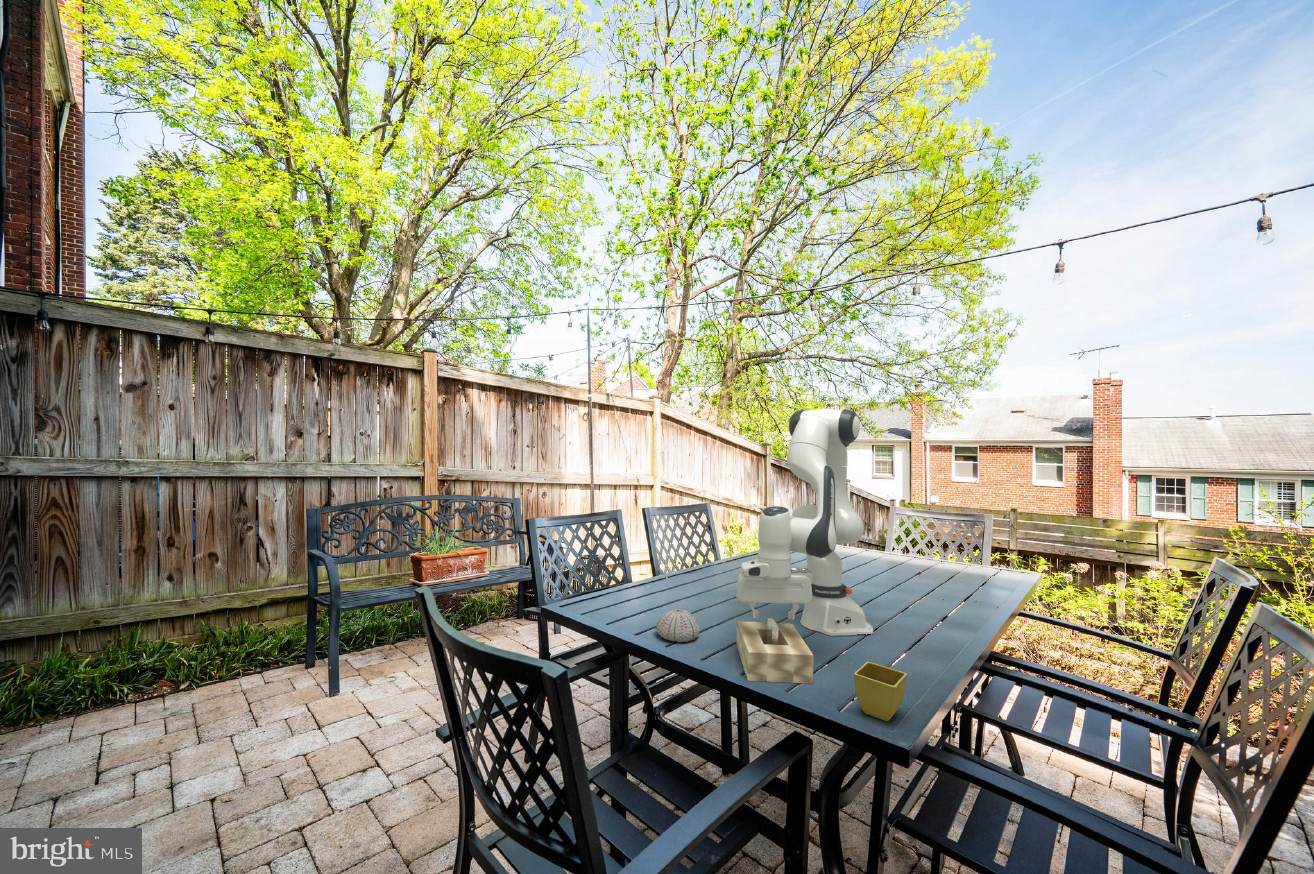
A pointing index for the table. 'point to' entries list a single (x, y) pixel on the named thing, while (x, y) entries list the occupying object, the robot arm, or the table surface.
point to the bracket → (772, 632)
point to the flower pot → (879, 690)
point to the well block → (774, 654)
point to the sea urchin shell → (678, 626)
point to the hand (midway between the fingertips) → (773, 618)
